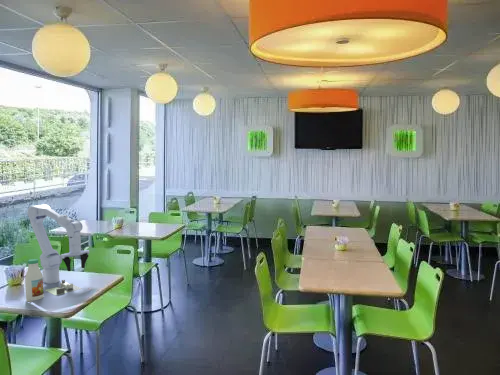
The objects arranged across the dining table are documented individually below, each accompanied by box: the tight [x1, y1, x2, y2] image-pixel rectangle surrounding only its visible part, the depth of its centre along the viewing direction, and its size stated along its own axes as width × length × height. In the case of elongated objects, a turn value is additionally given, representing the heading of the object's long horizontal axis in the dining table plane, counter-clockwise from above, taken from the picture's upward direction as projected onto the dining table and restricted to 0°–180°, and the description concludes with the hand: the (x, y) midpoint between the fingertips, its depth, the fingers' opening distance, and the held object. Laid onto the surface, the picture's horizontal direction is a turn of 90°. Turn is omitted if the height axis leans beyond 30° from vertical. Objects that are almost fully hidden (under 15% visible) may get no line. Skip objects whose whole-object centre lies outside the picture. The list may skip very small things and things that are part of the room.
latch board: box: [44, 284, 83, 296], centre depth 224 cm, size 13×14×4 cm
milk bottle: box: [24, 258, 45, 303], centre depth 210 cm, size 8×8×20 cm
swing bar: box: [60, 279, 74, 290], centre depth 225 cm, size 10×3×3 cm, turn 47°
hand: (76, 269), depth 231 cm, fingers open, 7 cm apart
